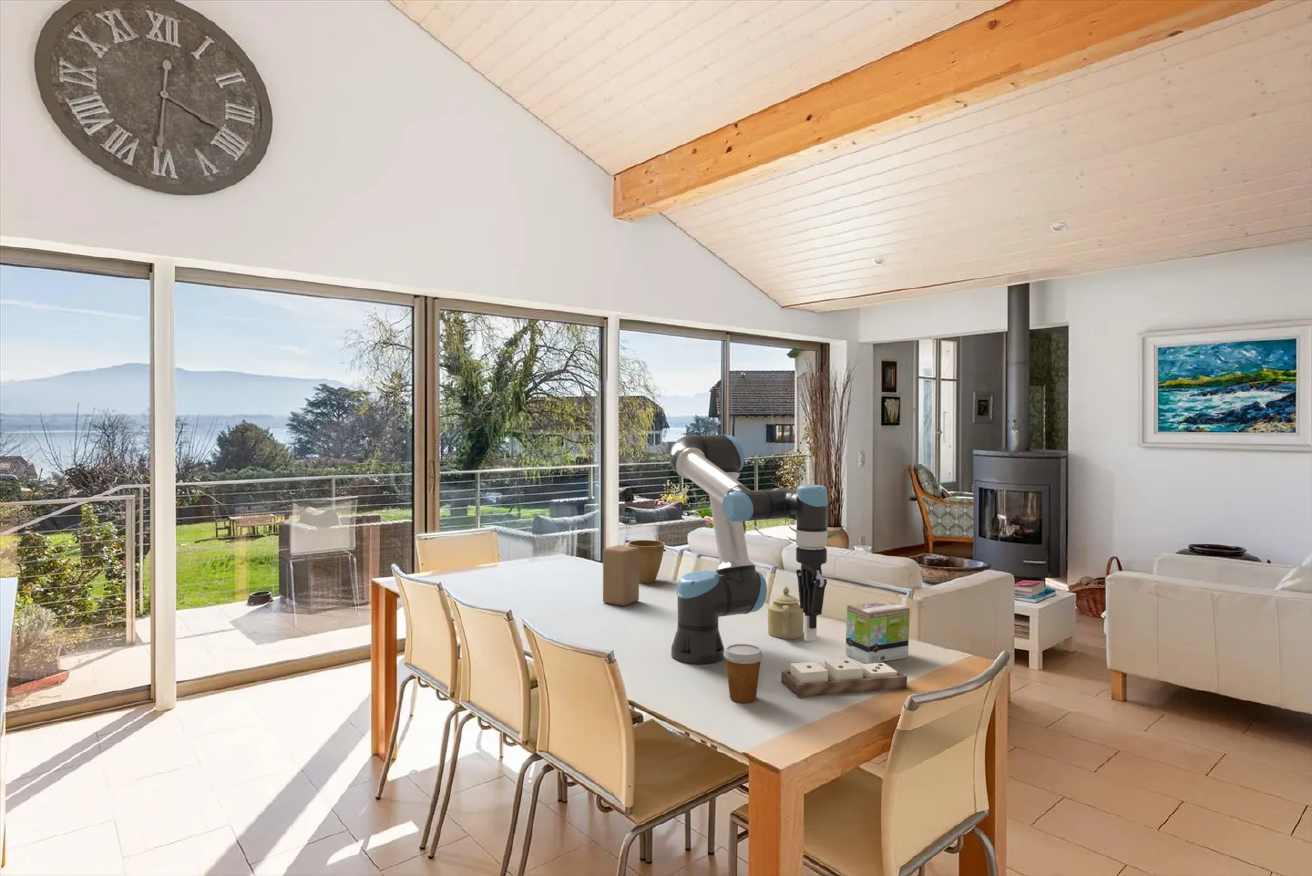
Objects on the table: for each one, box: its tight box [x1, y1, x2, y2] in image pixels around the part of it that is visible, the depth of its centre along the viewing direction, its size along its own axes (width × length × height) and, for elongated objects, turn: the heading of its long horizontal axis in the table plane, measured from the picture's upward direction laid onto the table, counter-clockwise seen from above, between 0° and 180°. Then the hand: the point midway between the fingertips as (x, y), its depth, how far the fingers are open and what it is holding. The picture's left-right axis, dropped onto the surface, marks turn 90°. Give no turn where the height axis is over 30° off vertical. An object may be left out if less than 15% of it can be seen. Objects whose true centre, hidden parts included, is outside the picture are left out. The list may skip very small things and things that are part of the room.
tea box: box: [845, 599, 911, 664], centre depth 212 cm, size 15×10×15 cm, turn 117°
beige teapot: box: [767, 586, 805, 640], centre depth 232 cm, size 15×11×15 cm
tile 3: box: [858, 662, 898, 678], centre depth 191 cm, size 7×7×3 cm
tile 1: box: [789, 661, 828, 683], centre depth 187 cm, size 7×7×3 cm
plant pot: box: [628, 539, 666, 584], centre depth 306 cm, size 15×15×16 cm
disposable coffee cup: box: [724, 643, 764, 704], centre depth 180 cm, size 10×10×12 cm
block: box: [602, 544, 640, 607], centre depth 272 cm, size 10×10×20 cm
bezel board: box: [780, 662, 908, 698], centre depth 189 cm, size 30×10×3 cm, turn 103°
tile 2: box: [824, 658, 863, 681], centre depth 189 cm, size 7×7×3 cm
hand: (810, 640), depth 187 cm, fingers closed
